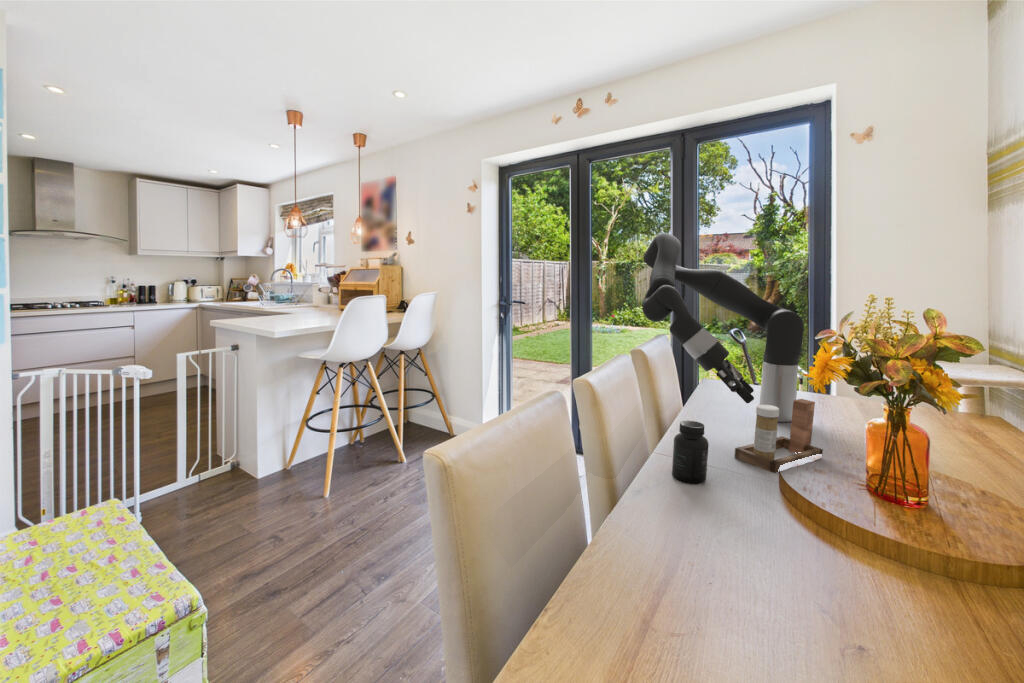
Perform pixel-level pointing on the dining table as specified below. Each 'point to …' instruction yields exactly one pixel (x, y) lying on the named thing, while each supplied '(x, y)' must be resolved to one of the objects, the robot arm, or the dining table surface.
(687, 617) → the dining table surface
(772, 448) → the sprinkles bottle
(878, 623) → the dining table surface
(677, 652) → the dining table surface
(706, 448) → the supplement bottle
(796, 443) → the wooden frame tray
